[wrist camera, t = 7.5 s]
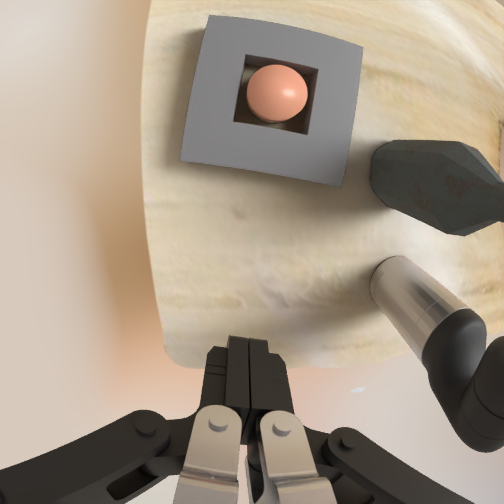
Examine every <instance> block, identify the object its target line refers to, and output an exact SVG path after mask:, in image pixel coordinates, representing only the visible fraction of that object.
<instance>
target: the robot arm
mask: <svg viewBox="0 0 504 504" xmlns="http://www.w3.org/2000/svg"><path fill="white" fill-rule="evenodd" d="M370 293H371V296H372V298H373V300H374V301H375V302H376V303H377V305H378V306H379V307H380V308H381V310H382V311H383V312H384V314H385V315H386V316H387V318H388V319H389V320H390V321H391V323H392V324H393V325H394V327H395V328H396V329H397V330H398V332H399V333H400V334H401V336H402V337H403V338H404V340H405V341H406V342H407V344H408V345H409V346H410V348H411V349H412V350H413V352H414V353H415V354H416V356H417V357H418V358H419V360H420V361H421V363H422V364H423V365H424V367H425V368H426V370H427V372H428V378H429V383H430V386H431V389H432V391H433V393H434V394H435V396H436V398H437V400H438V401H439V403H440V405H441V407H442V409H443V411H444V412H445V414H446V416H447V418H448V420H449V422H450V423H451V425H452V427H453V428H454V430H455V432H456V433H457V435H458V436H459V437H460V439H461V440H462V441H463V442H464V443H465V444H466V445H467V446H469V447H470V448H472V449H474V450H476V451H479V452H485V453H487V452H493V451H495V450H498V449H500V448H501V447H503V446H504V336H502V337H499V338H497V339H495V340H494V341H493V342H492V343H491V344H490V345H489V346H488V348H487V350H486V335H487V332H486V326H485V323H484V321H483V320H482V318H481V317H480V316H479V315H477V314H476V313H475V312H474V311H473V310H472V309H470V308H469V307H468V306H467V305H466V304H465V303H463V302H462V301H461V300H460V299H459V298H457V297H456V296H455V295H454V294H453V293H451V292H450V291H449V290H448V289H446V288H445V287H444V286H443V285H442V284H440V283H439V282H438V281H437V280H435V279H434V278H433V277H431V276H430V275H429V274H428V273H426V272H425V271H424V270H422V269H421V268H420V267H419V266H417V265H416V264H415V263H413V262H412V261H411V260H409V259H408V258H406V257H403V256H394V257H391V258H389V259H387V260H385V261H384V262H383V263H381V264H380V265H379V267H378V268H377V269H376V271H375V272H374V274H373V276H372V278H371V282H370ZM240 444H241V445H247V453H248V454H247V456H246V459H245V469H246V478H247V486H248V494H249V503H250V504H474V503H473V502H471V501H469V500H467V499H465V498H464V497H462V496H460V495H458V494H456V493H454V492H452V491H450V490H449V489H447V488H445V487H444V486H442V485H440V484H438V483H437V482H435V481H433V480H431V479H430V478H428V477H427V476H425V475H423V474H422V473H420V472H418V471H417V470H415V469H414V468H412V467H410V466H409V465H407V464H406V463H404V462H403V461H401V460H399V459H398V458H396V457H395V456H393V455H392V454H390V453H389V452H387V451H386V450H385V449H383V448H382V447H380V446H378V445H377V444H376V443H374V442H373V441H371V440H370V439H369V438H367V437H366V436H364V435H363V434H362V433H360V432H359V431H357V430H355V429H352V428H348V427H341V428H337V429H335V430H334V431H332V433H331V434H328V433H324V432H320V431H315V430H312V429H309V428H307V427H305V426H304V425H303V424H302V422H301V420H300V419H299V418H298V417H296V416H295V414H294V409H293V404H292V398H291V392H290V387H289V383H288V377H287V370H286V365H285V362H284V361H283V360H282V358H281V357H280V355H279V354H273V353H269V350H268V342H267V340H260V339H252V338H244V337H237V336H230V335H229V337H228V343H227V348H224V347H217V346H214V347H213V348H212V349H211V350H210V351H209V353H208V354H207V360H206V366H205V374H204V380H203V387H202V394H201V401H200V406H199V408H198V409H197V411H196V412H195V413H194V414H192V415H191V416H189V417H187V418H183V419H174V420H166V419H165V418H164V417H163V416H161V415H160V414H158V413H156V412H154V411H150V410H137V411H134V412H132V413H130V414H128V415H126V416H124V417H122V418H120V419H118V420H116V421H114V422H112V423H110V424H108V425H106V426H104V427H102V428H100V429H98V430H96V431H94V432H92V433H90V434H88V435H86V436H84V437H81V438H79V439H77V440H75V441H73V442H70V443H68V444H66V445H64V446H61V447H59V448H57V449H54V450H52V451H50V452H47V453H45V454H42V455H40V456H37V457H35V458H32V459H30V460H27V461H24V462H22V463H19V464H17V465H13V466H10V467H8V468H5V469H2V470H0V504H125V503H126V502H128V501H130V500H132V499H133V498H135V497H137V496H138V495H140V494H142V493H143V492H145V491H146V490H148V489H150V488H151V487H153V486H154V485H156V484H157V483H159V482H160V481H162V480H163V479H165V478H166V477H167V476H169V475H180V476H179V479H178V483H177V488H176V492H175V496H174V500H173V504H237V500H238V487H239V484H238V480H237V470H238V460H239V448H240Z"/></svg>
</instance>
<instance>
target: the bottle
mask: <svg viewBox="0 0 504 504" xmlns="http://www.w3.org/2000/svg"><path fill="white" fill-rule="evenodd" d="M370 182H371V185H372V189H373V191H374V192H375V193H376V194H377V196H378V197H379V198H380V199H381V200H382V201H383V202H384V203H385V205H386V206H389V207H391V208H393V209H396V210H398V211H400V212H402V213H404V214H407V215H409V216H411V217H413V218H415V219H417V220H419V221H422V222H424V223H426V224H428V225H430V226H432V227H434V228H436V229H438V230H440V231H442V232H444V233H446V234H452V235H459V236H467V235H469V234H471V233H473V232H476V231H478V230H480V229H482V228H485V227H487V226H489V225H491V224H493V223H496V222H498V221H500V222H504V182H503V181H502V179H501V178H500V177H499V175H498V174H497V173H496V171H495V170H494V169H493V167H492V166H491V165H490V164H489V162H488V161H487V160H486V159H485V158H484V156H483V155H482V154H481V153H480V152H479V151H478V149H476V148H473V147H471V146H469V145H466V144H464V143H462V142H458V141H437V140H393V141H391V142H389V143H387V144H386V145H384V146H382V147H380V148H379V149H377V151H376V153H375V154H374V156H373V158H372V166H371V175H370Z"/></svg>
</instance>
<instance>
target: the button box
mask: <svg viewBox="0 0 504 504" xmlns="http://www.w3.org/2000/svg"><path fill="white" fill-rule="evenodd" d="M362 55H363V47H361V46H359V45H356V44H353V43H350V42H347V41H344V40H341V39H338V38H335V37H331V36H328V35H325V34H321V33H317V32H314V31H310V30H306V29H302V28H297V27H293V26H288V25H283V24H278V23H273V22H267V21H261V20H254V19H247V18H238V17H228V16H215V15H209V18H208V22H207V25H206V29H205V33H204V37H203V41H202V45H201V49H200V53H199V58H198V62H197V66H196V71H195V76H194V80H193V85H192V90H191V95H190V100H189V106H188V111H187V117H186V123H185V129H184V135H183V141H182V148H181V155H180V161H185V162H194V163H202V164H210V165H218V166H225V167H232V168H239V169H245V170H251V171H258V172H264V173H269V174H275V175H281V176H286V177H291V178H296V179H301V180H306V181H311V182H316V183H321V184H325V185H330V186H334V187H339V188H341V187H342V182H343V177H344V172H345V167H346V162H347V157H348V152H349V146H350V141H351V135H352V129H353V123H354V116H355V110H356V103H357V96H358V89H359V81H360V73H361V64H362ZM245 64H250V65H257V66H263V67H265V66H269V65H283V66H287V67H289V68H291V69H293V70H295V71H296V72H297V73H298V74H302V75H306V76H310V77H311V80H310V86H309V92H308V98H307V104H306V110H305V116H304V122H303V127H302V133H301V134H299V133H295V132H290V131H285V130H280V129H275V128H270V127H264V126H258V125H252V124H246V123H239V122H234V119H235V113H236V108H237V102H238V97H239V92H240V86H241V81H242V76H243V71H244V66H245Z"/></svg>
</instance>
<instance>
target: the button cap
mask: <svg viewBox="0 0 504 504" xmlns="http://www.w3.org/2000/svg"><path fill="white" fill-rule="evenodd" d="M307 95H308V93H307V87H306V84H305V82H304V80H303V78H302V77H301V76H300V75H299V74H298V73H297V72H296V71H295V70H293V69H291V68H289V67H287V66H283V65H269V66H265V67H263V68H261V69H259V70H258V71H256V72H255V73H254V74H253V75H252V77H251V78H250V80H249V83H248V87H247V104H248V107H249V109H250V110H251V112H252V113H253V114H254V115H255V116H256V117H258V118H259V119H261V120H263V121H265V122H269V123H280V122H284V121H287V120H288V119H290V118H292V117H293V116H295V115H296V114H297V113H299V112H300V111H301V110H302V108H303V107H304V105H305V103H306V101H307Z"/></svg>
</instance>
